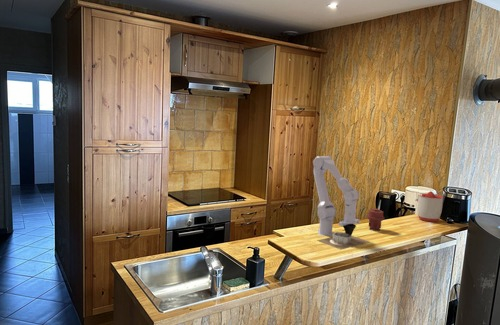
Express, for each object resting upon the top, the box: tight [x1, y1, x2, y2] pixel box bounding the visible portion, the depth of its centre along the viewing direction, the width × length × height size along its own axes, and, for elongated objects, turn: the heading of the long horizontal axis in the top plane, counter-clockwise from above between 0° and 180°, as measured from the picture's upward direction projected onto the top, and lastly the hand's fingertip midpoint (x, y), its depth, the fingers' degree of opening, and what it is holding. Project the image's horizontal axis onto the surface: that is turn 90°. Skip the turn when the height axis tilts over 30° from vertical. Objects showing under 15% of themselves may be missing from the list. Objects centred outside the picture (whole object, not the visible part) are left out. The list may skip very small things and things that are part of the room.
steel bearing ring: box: [332, 231, 352, 245], centre depth 192 cm, size 9×9×4 cm
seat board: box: [316, 235, 370, 250], centre depth 194 cm, size 24×16×1 cm, turn 126°
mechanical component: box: [366, 208, 385, 231], centre depth 222 cm, size 12×10×10 cm
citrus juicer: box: [415, 191, 444, 223], centre depth 252 cm, size 16×17×20 cm
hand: (348, 237), depth 196 cm, fingers closed
